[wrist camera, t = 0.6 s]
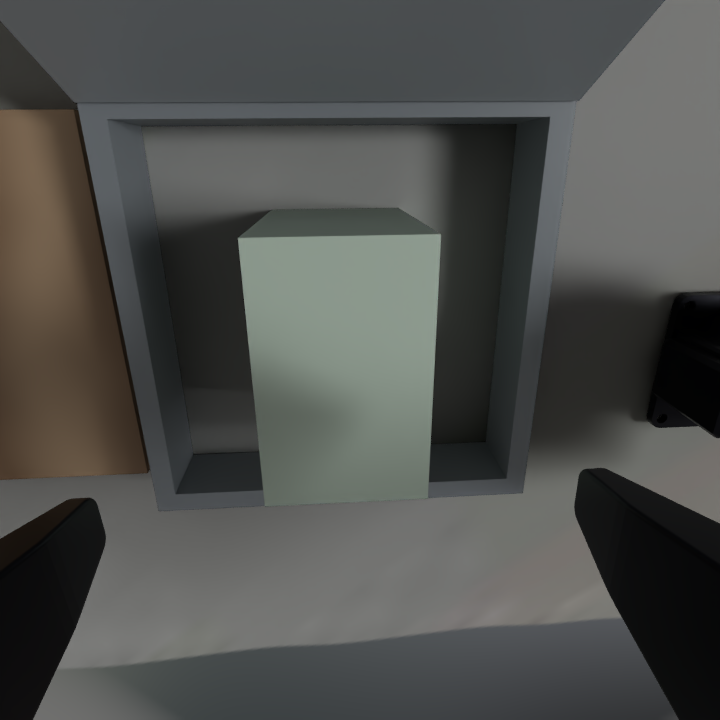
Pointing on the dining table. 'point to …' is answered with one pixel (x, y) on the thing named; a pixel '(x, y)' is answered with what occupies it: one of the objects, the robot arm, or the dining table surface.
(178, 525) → the dining table surface
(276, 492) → the block
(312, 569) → the dining table surface
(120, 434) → the board
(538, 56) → the equipment case
